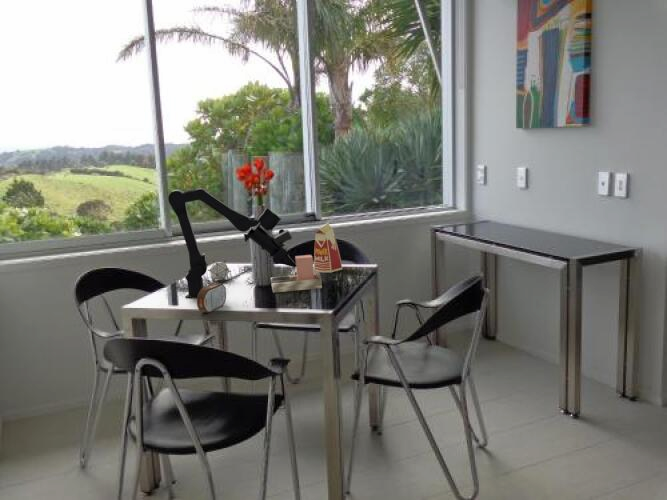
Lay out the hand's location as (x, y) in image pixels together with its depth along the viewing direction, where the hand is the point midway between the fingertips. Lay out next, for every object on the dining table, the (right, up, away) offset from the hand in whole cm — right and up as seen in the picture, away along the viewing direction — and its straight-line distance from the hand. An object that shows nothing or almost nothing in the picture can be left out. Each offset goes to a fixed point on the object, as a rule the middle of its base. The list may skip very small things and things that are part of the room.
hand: (295, 266), depth 249 cm
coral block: (+4, -6, +2) cm, 7 cm away
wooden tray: (0, -8, +1) cm, 8 cm away
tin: (-26, -14, -25) cm, 39 cm away
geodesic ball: (-32, -6, +22) cm, 39 cm away
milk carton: (+12, -3, +28) cm, 30 cm away
